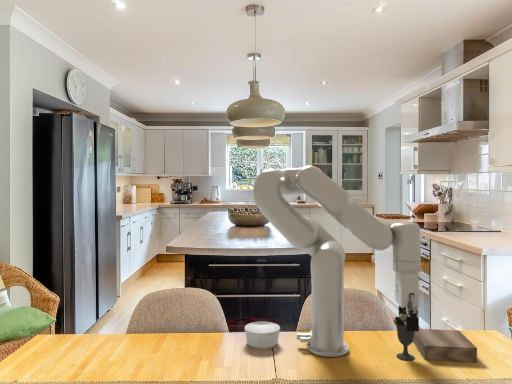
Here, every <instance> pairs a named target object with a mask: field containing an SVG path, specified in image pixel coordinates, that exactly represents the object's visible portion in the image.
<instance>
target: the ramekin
mask: <svg viewBox="0 0 512 384" xmlns="http://www.w3.org/2000/svg"><path fill="white" fill-rule="evenodd" d="M244 332H245V333H244V334H245V339H246V344H247V345H248V346H249V347H250V348H254V349H259V350H266V349H268V350H269V349H271V348H274V347H276V346H277V344H278V342H279V337H280V332H281V326H280V325H279V324H277V323H274V322H270V321H255V322H250V323H247V324H246V325H245V326H244Z"/></svg>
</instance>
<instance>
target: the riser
mask: <svg viewBox="0 0 512 384" xmlns="http://www.w3.org/2000/svg"><path fill="white" fill-rule="evenodd" d="M412 343H413V344H414V345H415V347H416V349H417V350H418V352H419V353H420V355H421V356H422V358H423V359H424V360H427V361H429V360H430V361H448V362H466V363H467V362H468V363H478V347H477V346H476V345H474V344H473V343H472V342H471V341H470V340H469V339H468V338H467V337H466V336H465V335H464V334H463V332H461V330H454V329H434V328H433V329H432V328H419V331H418V332H417V331H415V332H414V339H413V342H412Z"/></svg>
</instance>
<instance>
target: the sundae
mask: <svg viewBox="0 0 512 384" xmlns="http://www.w3.org/2000/svg"><path fill="white" fill-rule="evenodd" d="M409 310H411V309H409ZM406 316H407V311H406V310H403V312H402V313H400V314H399V313H398V316H395V317H394V320H393V323H394V325H395V326H396V334H397V340H398V341H399V343H400V344H402V346H403V350H402V352H400V353H397V354H396V358H398V359H399V360H401V361H407V362H411V361H414V360H415V356H414V355H413V354H411V353H409V350H408V348H409V346H410V345H411V344H412V343H413V339H414V332H415V331H407V329H406Z"/></svg>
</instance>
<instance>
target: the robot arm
mask: <svg viewBox="0 0 512 384" xmlns="http://www.w3.org/2000/svg"><path fill="white" fill-rule="evenodd" d="M253 183H254V184H253V191H252V192H253V193H252V195H253V199H254V204H255V205H256V207H257V209H258V211H259V212H260V213H261V215H263V216H264V218H265V219H267V221H268V222H269V223H270V224H271V225H272V226H273V227H274V228H275V230H277V231H278V232H279V234H281V236H282V237H284V238H285V239H286V241H288V243H289V244H290V245H291V246H292V247H293V248H295V249H297V250H300V251H306V253H308V254H309V256H311V258H310V276H311V277H310V279H311V280H310V281H311V329H310V332H307V333H298V332H297V333H296V340H297V341H300V343H306V350H307V351H308V352H310V353H311V354H313V355H316V356H319V357H326V358H328V357H329V358H336V357H337V358H338V357H342V356H344V355H346V354H348V353H349V352H350V347H349V345H348V343H346V342H345V340H344V339H345V338H344V336H345V335H344V330H345V329H344V328H345V327H344V325H345V324H344V323H345V318H344V316H345V314H344V313H345V312H344V310H345V308H344V307H345V305H344V304H345V303H344V301H345V296H344V295H345V294H344V292H345V290H344V289H345V287H344V285H345V283H344V282H345V281H344V278H345V277H344V274H345V273H344V272H345V270H344V267H345V261H346V253H345V249H344V247H343V246H342V245H341V243H340V242H339V241H338V240H336V239H335V238H334V237H333V235H331V234H330V233H329V231H327V230H326V229H325V227H323V226H322V225H321V224H320V223H319V222H318V221H316V220H315V219H314V218H312V217H308V216H303V215H302V214H301V213H300V212H299V211H298V210H297V209H296V208H295V207H294V206H293V205H292V204H291V202H289V201H287V200H286V199H285V197H284V195H285V196H286V195H303V194H304V195H305V196H307V197H308V198H309V199H310V200H312V201H313V202H314V203H315V204H317V205H318V206H319V207H320V208H322V210H324V211H325V212H326V213H328V214H329V215H330V216H331V217H332V218H333V219H334V220H335V221H337V222H338V223H340V224H341V226H343V227H344V228H345V229H346V230H347V231H349V232H350V233H351V234H352V235H353V236H355V237H356V238H357V239H359V241H360V242H362V243H363V244H364V245H366V246H367V247H368V248H370V249H372V250H374V251H379V252H380V251H385V250H387V249H388V248H390V246H392V271H394V272H395V276H394V299H395V302H396V303H397V304H398V315H399V314H400V313H402V312H403V310H406V311H407V316H406V329H407V331H417V332H418V331H419V329H420V321H419V318H420V316H419V309H418V308H419V307H420V283H419V273H421V272H422V260H421V259H422V257H421V255H422V254H421V253H422V252H421V228H420V225H419V224H418V223H417V222H411V221H406V222H405V221H401V222H387V221H380V220H379V219H377V218H376V217H375V216H373V214H372V213H370V212H369V211H368V210H367V209H365V208H364V207H363V206H362V205H361V204H360V203H359V202H358V201H357V200H356V199H355V197H354V196H353V195H352V194H351V193H350V192H348V191H347V190H346V189H345V188H343V187H342V186H340V184H338V183H337V182H336V181H335V180H333V179H332V178H331V177H330V176H328V175H327V174H326V173H325V172H324V171H322V169H320V167H317V166H314V165H305V166H303V167H299V168H284V169H278V168H267V169H264V170H262V171H261V172H259V174H258V175H257V176H256V178H255V181H254V182H253ZM409 309H410V310H409Z"/></svg>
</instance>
